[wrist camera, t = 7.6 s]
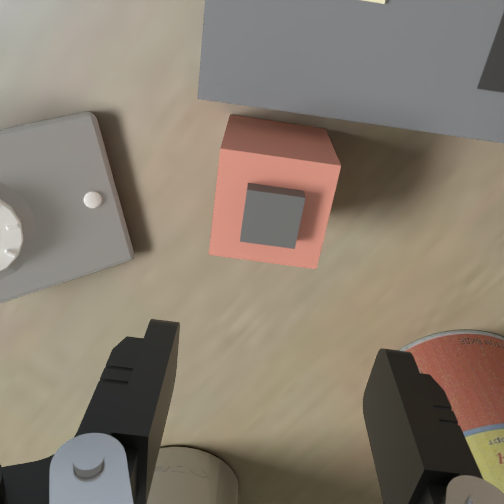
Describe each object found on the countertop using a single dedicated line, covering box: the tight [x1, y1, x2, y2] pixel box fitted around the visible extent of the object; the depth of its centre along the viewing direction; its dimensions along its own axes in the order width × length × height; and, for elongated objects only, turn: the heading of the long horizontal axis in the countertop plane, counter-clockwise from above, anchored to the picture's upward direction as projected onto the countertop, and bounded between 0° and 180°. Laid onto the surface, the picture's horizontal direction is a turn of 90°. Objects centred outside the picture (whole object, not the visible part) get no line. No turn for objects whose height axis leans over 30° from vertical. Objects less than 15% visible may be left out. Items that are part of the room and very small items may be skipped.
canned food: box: [399, 330, 504, 493], centre depth 28 cm, size 11×11×12 cm
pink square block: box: [209, 115, 341, 269], centre depth 23 cm, size 5×5×7 cm
